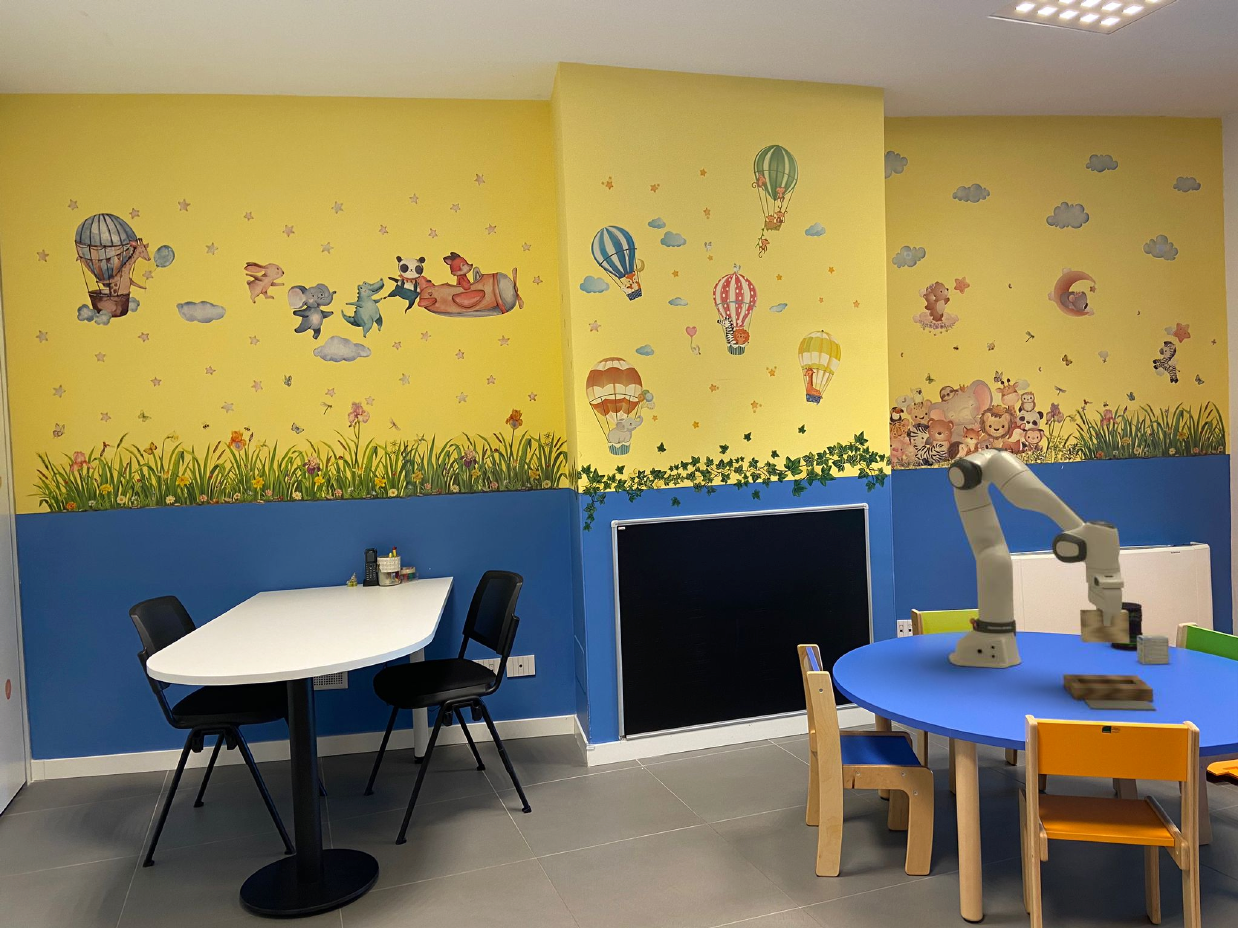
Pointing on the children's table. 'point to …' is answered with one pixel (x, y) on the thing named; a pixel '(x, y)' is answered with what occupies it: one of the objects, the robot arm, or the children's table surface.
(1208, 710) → the children's table surface
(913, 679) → the children's table surface
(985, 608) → the robot arm
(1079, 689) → the walnut case
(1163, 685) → the children's table surface
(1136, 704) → the grey flat slab
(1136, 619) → the black cylinder
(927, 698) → the children's table surface
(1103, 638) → the oak cover plate
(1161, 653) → the medicine box
